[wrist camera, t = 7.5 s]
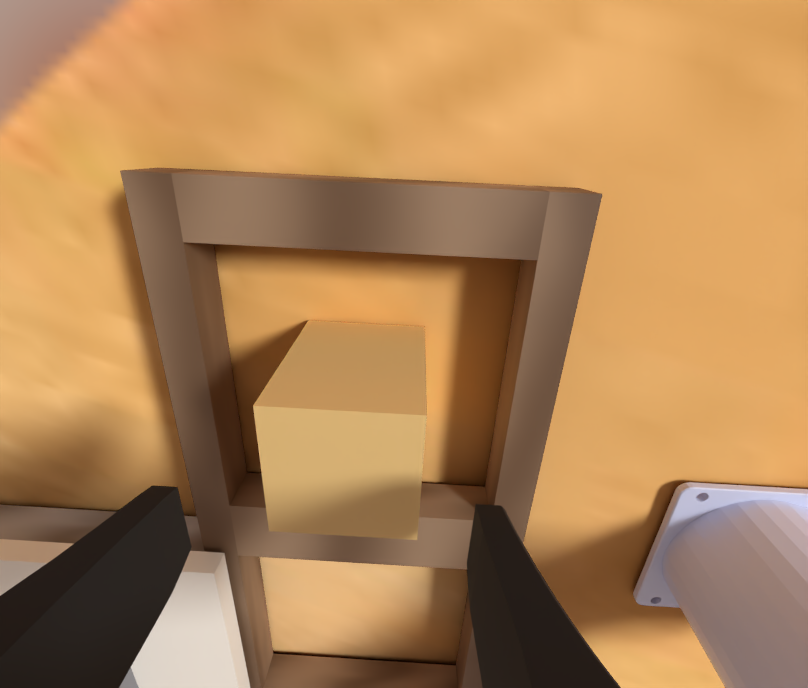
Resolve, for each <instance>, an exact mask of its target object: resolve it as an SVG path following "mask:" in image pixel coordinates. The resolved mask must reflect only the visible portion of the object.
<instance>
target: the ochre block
mask: <svg viewBox="0 0 808 688" xmlns="http://www.w3.org/2000/svg"><path fill="white" fill-rule="evenodd" d="M253 410H254V418H255V425H256V433H257V441H258V449H259V457H260V465H261V472H262V480H263V488H264V496H265V504H266V512H267V520H268V527H269V531H274V532H291V533H307V534H324V535H341V536H357V537H374V538H391V539H407V540H417V536H418V523H419V510H420V498H421V485H422V472H423V459H424V446H425V433H426V420H427V400H426V357H425V326H408V325H389V324H370V323H351V322H332V321H313V320H308V322H307V323H306V325H305V327H304V328H303V330H302V331H301V333H300V334H299V336H298V337H297V339H296V340H295V342H294V343H293V345H292V347H291V348H290V350H289V351H288V353H287V354H286V356H285V357H284V359H283V360H282V362H281V364H280V365H279V367H278V368H277V370H276V371H275V373H274V374H273V376H272V377H271V379H270V380H269V382H268V384H267V385H266V387H265V388H264V390H263V391H262V393H261V394H260V396H259V397H258V399H257V400H256V402H255V404H254V405H253Z"/></svg>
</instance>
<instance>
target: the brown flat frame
mask: <svg viewBox="0 0 808 688" xmlns="http://www.w3.org/2000/svg"><path fill="white" fill-rule="evenodd" d="M120 172H121V176H122V181H123V185H124V190H125V194H126V199H127V203H128V208H129V212H130V217H131V221H132V226H133V230H134V235H135V239H136V244H137V248H138V253H139V257H140V262H141V266H142V271H143V276H144V280H145V285H146V289H147V294H148V298H149V303H150V307H151V312H152V316H153V321H154V325H155V330H156V334H157V339H158V343H159V348H160V352H161V357H162V361H163V366H164V370H165V375H166V379H167V384H168V388H169V393H170V397H171V402H172V407H173V411H174V416H175V420H176V425H177V429H178V434H179V438H180V443H181V447H182V452H183V456H184V461H185V465H186V470H187V474H188V479H189V483H190V488H191V492H192V497H193V501H194V506H195V510H196V515H197V517H195V516H184V517H185V521H186V525H187V529H188V534H189V538H190V542H191V546H192V548H191V550H190V551H203V552H219V553H224V554H225V559H226V564H227V570H228V575H229V580H230V585H231V590H232V595H233V601H234V606H235V611H236V616H237V621H238V626H239V632H240V637H241V642H242V647H243V652H244V657H245V662H246V668H247V673H248V678H249V683H250V688H483V687H482V681H481V675H480V669H479V663H478V657H477V651H476V645H475V638H474V632H473V626H472V620H471V614H470V605H469V592H468V594H467V600H466V607H465V613H464V619H463V625H462V631H461V638H460V644H459V650H458V656H457V662H456V666H455V665H440V664H424V663H409V662H394V661H378V660H363V659H348V658H332V657H317V656H302V655H286V654H273V648H272V641H271V635H270V628H269V621H268V614H267V607H266V600H265V593H264V586H263V579H262V573H261V566H260V559H259V557H272V558H288V559H304V560H320V561H337V562H353V563H369V564H385V565H401V566H417V567H434V568H450V569H466V570H467V558H468V551H469V545H470V538H471V531H472V525H473V518H474V512H475V505H476V504H484V505H501V506H502V507H503V508H504V509H505V510H506V512H507V515H508V517H509V518H510V520H511V522H512V524H513V526H514V528H515V530H516V532H517V534H518V536H519V537H520V539H521V541H522V543H523V541H524V537H525V532H526V528H527V524H528V519H529V515H530V510H531V506H532V502H533V497H534V493H535V488H536V484H537V480H538V475H539V471H540V466H541V462H542V458H543V453H544V449H545V444H546V440H547V436H548V431H549V427H550V422H551V418H552V414H553V409H554V405H555V400H556V396H557V392H558V387H559V383H560V378H561V374H562V370H563V365H564V361H565V356H566V352H567V348H568V343H569V339H570V334H571V330H572V326H573V321H574V317H575V312H576V308H577V304H578V299H579V295H580V290H581V286H582V282H583V277H584V273H585V268H586V264H587V260H588V255H589V251H590V246H591V242H592V238H593V233H594V229H595V224H596V220H597V216H598V211H599V207H600V202H601V198H602V194H600V193H596V192H592V191H588V190H584V189H580V188H566V187H545V186H525V185H504V184H483V183H463V182H442V181H421V180H401V179H380V178H360V177H339V176H318V175H298V174H277V173H256V172H236V171H215V170H195V169H174V168H149V169H136V170H123V171H120ZM214 244H226V245H246V246H266V247H285V248H305V249H324V250H344V251H363V252H383V253H403V254H422V255H442V256H461V257H481V258H501V259H520V260H521V265H520V271H519V277H518V284H517V290H516V296H515V302H514V309H513V315H512V321H511V327H510V333H509V340H508V346H507V352H506V358H505V364H504V371H503V377H502V383H501V389H500V395H499V402H498V408H497V414H496V420H495V427H494V433H493V439H492V445H491V451H490V458H489V464H488V470H487V476H486V482H485V487H481V486H464V485H448V484H431V483H422V485H421V498H420V510H419V523H418V536H417V540H407V539H391V538H374V537H357V536H341V535H324V534H307V533H291V532H274V531H269V527H268V520H267V512H266V504H265V496H264V488H263V480H262V474H261V473H247V469H246V462H245V455H244V448H243V441H242V435H241V428H240V421H239V414H238V407H237V400H236V393H235V386H234V379H233V373H232V366H231V359H230V352H229V345H228V338H227V331H226V324H225V317H224V310H223V304H222V297H221V290H220V283H219V276H218V269H217V262H216V255H215V248H214ZM115 513H116V512H113V511H96V510H80V509H63V508H47V507H30V506H14V505H0V539H8V540H25V541H41V542H57V543H73V544H74V543H76V542H77V541H78V540H80V539H81V538H82V537H84V536H85V535H87V534H88V533H89V532H91V531H92V530H93V529H95V528H96V527H97V526H99V525H100V524H101V523H103V522H104V521H105V520H107V519H108V518H109V517H111V516H112V515H113V514H115Z"/></svg>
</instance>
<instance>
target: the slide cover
mask: <svg viewBox="0 0 808 688" xmlns="http://www.w3.org/2000/svg"><path fill="white" fill-rule="evenodd" d="M72 545H73V543H57V542H41V541H25V540H8V539H0V596H1V595H2V594H3V593H5V592H6V591H8V590H9V589H11V588H12V587H14V586H15V585H16V584H18V583H19V582H21V581H22V580H24V579H25V578H27V577H28V576H29V575H31V574H32V573H34V572H35V571H37V570H38V569H40V568H41V567H42V566H44V565H45V564H47V563H48V562H50V561H51V560H52V559H54V558H55V557H57V556H58V555H59V554H61V553H62V552H63V551H65V550H66V549H68V548H69V547H70V546H72ZM119 688H250V683H249V678H248V673H247V668H246V662H245V657H244V652H243V647H242V642H241V637H240V632H239V626H238V621H237V616H236V611H235V606H234V601H233V595H232V590H231V585H230V580H229V575H228V570H227V564H226V559H225V554H224V553H219V552H203V551H190V552H189V555H188V557H187V560H186V562H185V565H184V567H183V570H182V572H181V574H180V577H179V579H178V581H177V583H176V586H175V588H174V590H173V592H172V594H171V596H170V598H169V600H168V602H167V603H166V605H165V607H164V609H163V611H162V612H161V614H160V616H159V618H158V620H157V621H156V623H155V625H154V627H153V629H152V630H151V632H150V634H149V636H148V637H147V639H146V641H145V643H144V645H143V646H142V648H141V650H140V652H139V653H138V655H137V657H136V659H135V661H134V662H133V664H132V666H131V668H130V669H129V671H128V673H127V675H126V676H125V678H124V680H123V682H122V684H121V685H120V687H119Z"/></svg>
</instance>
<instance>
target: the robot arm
mask: <svg viewBox="0 0 808 688" xmlns="http://www.w3.org/2000/svg"><path fill="white" fill-rule="evenodd" d="M700 493H701V494H700ZM698 494H699V495H698ZM191 548H192V546H191V542H190V538H189V534H188V529H187V525H186V521H185V517H184V513H183V509H182V504H181V500H180V496H179V492H178V488H177V487H167V486H151V487H150V488H148V489H147V490H146V491H144V492H143V493H141V494H140V495H139V496H137V497H136V498H135V499H133V500H132V501H131V502H129V503H128V504H127V505H125V506H124V507H123V508H121V509H120V510H119V511H117V512H116V513H115V514H113V515H112V516H111V517H109V518H108V519H107V520H105V521H104V522H103V523H101V524H100V525H99V526H97V527H96V528H95V529H93V530H92V531H91V532H89V533H88V534H87V535H85V536H84V537H82V538H81V539H80V540H78V541H77V542H76V543H74V544H73V545H72V546H70V547H69V548H68V549H66V550H65V551H63V552H62V553H61V554H59V555H58V556H57V557H55V558H54V559H52V560H51V561H50V562H48V563H47V564H45V565H44V566H42V567H41V568H40V569H38V570H37V571H35V572H34V573H32V574H31V575H29V576H28V577H27V578H25V579H24V580H22V581H21V582H19V583H18V584H16V585H15V586H14V587H12V588H11V589H9V590H8V591H6V592H5V593H3V594H2V595H1V596H0V688H119V687H120V685H121V684H122V682H123V680H124V678H125V676H126V675H127V673H128V671H129V669H130V668H131V666H132V664H133V662H134V661H135V659H136V657H137V655H138V653H139V652H140V650H141V648H142V646H143V645H144V643H145V641H146V639H147V637H148V636H149V634H150V632H151V630H152V629H153V627H154V625H155V623H156V621H157V620H158V618H159V616H160V614H161V612H162V611H163V609H164V607H165V605H166V603H167V602H168V600H169V598H170V596H171V594H172V592H173V590H174V588H175V586H176V583H177V581H178V579H179V577H180V574H181V572H182V570H183V567H184V565H185V562H186V560H187V557H188V555H189V552H190V550H191ZM467 576H468V592H469V605H470V614H471V620H472V626H473V632H474V638H475V645H476V651H477V657H478V663H479V669H480V675H481V681H482V687H483V688H621V687H620V686H619V685H618V684H617V682H616V681H615V680H614V678H613V677H612V676H611V675H610V673H609V672H608V671H607V669H606V668H605V667H604V666H603V664H602V663H601V662H600V660H599V659H598V658H597V656H596V655H595V654H594V652H593V651H592V649H591V648H590V647H589V645H588V644H587V643H586V641H585V640H584V638H583V637H582V635H581V634H580V633H579V631H578V630H577V628H576V627H575V625H574V624H573V623H572V621H571V620H570V618H569V617H568V615H567V614H566V612H565V611H564V609H563V608H562V606H561V605H560V603H559V602H558V600H557V599H556V597H555V596H554V594H553V592H552V591H551V589H550V588H549V586H548V585H547V583H546V581H545V580H544V578H543V577H542V575H541V573H540V572H539V570H538V569H537V567H536V565H535V564H534V562H533V560H532V558H531V557H530V555H529V553H528V552H527V550H526V548H525V546H524V545H523V543H522V541H521V539H520V537H519V536H518V534H517V532H516V530H515V528H514V526H513V524H512V522H511V520H510V518H509V517H508V515H507V512H506V510H505V509H504V508H503V507H502V506H501V505H484V504H476V505H475V512H474V518H473V525H472V531H471V538H470V545H469V551H468V558H467ZM633 596H634V598H635V600H636V602H637V603H638V604H640V605H645V606H661V607H677V608H681V610H682V612H683V614H684V615H685V617H686V619H687V621H688V622H689V624H690V626H691V628H692V629H693V631H694V633H695V635H696V637H697V638H698V640H699V642H700V644H701V645H702V647H703V649H704V651H705V653H706V654H707V656H708V658H709V660H710V661H711V663H712V665H713V667H714V669H715V670H716V672H717V674H718V676H719V677H720V679H721V681H722V683H723V684H724V686H725V688H808V489H797V488H780V487H762V486H745V485H728V484H711V483H694V482H687V483H683V484H681V485H679V486H678V487H677V488H676V490H675V492H674V494H673V497H672V499H671V502H670V504H669V507H668V509H667V512H666V514H665V516H664V519H663V521H662V524H661V526H660V529H659V531H658V534H657V536H656V538H655V541H654V543H653V546H652V548H651V551H650V553H649V555H648V558H647V560H646V563H645V565H644V568H643V570H642V573H641V575H640V577H639V580H638V582H637V585H636V587H635V590H634V592H633Z"/></svg>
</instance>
